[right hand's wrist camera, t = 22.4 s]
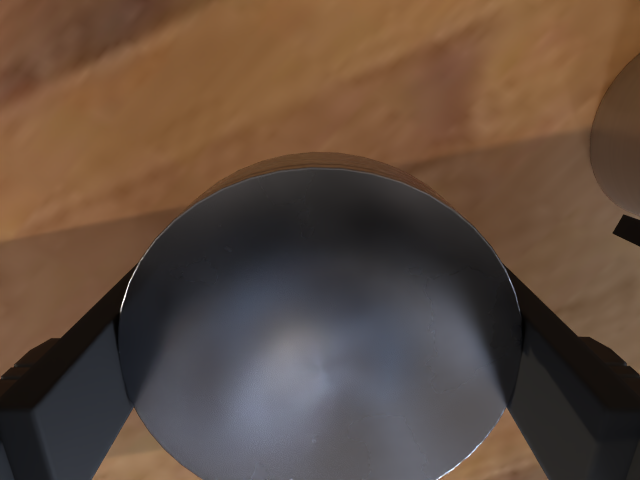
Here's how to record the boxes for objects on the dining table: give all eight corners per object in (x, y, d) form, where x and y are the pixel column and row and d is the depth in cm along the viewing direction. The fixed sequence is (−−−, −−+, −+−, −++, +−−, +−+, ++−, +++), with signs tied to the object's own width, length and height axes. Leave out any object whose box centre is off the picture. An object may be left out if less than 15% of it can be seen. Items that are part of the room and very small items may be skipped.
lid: (482, 120, 10) (522, 128, 8) (494, 428, 14) (524, 488, 12) (102, 186, 11) (52, 209, 9) (201, 467, 14) (182, 530, 12)
